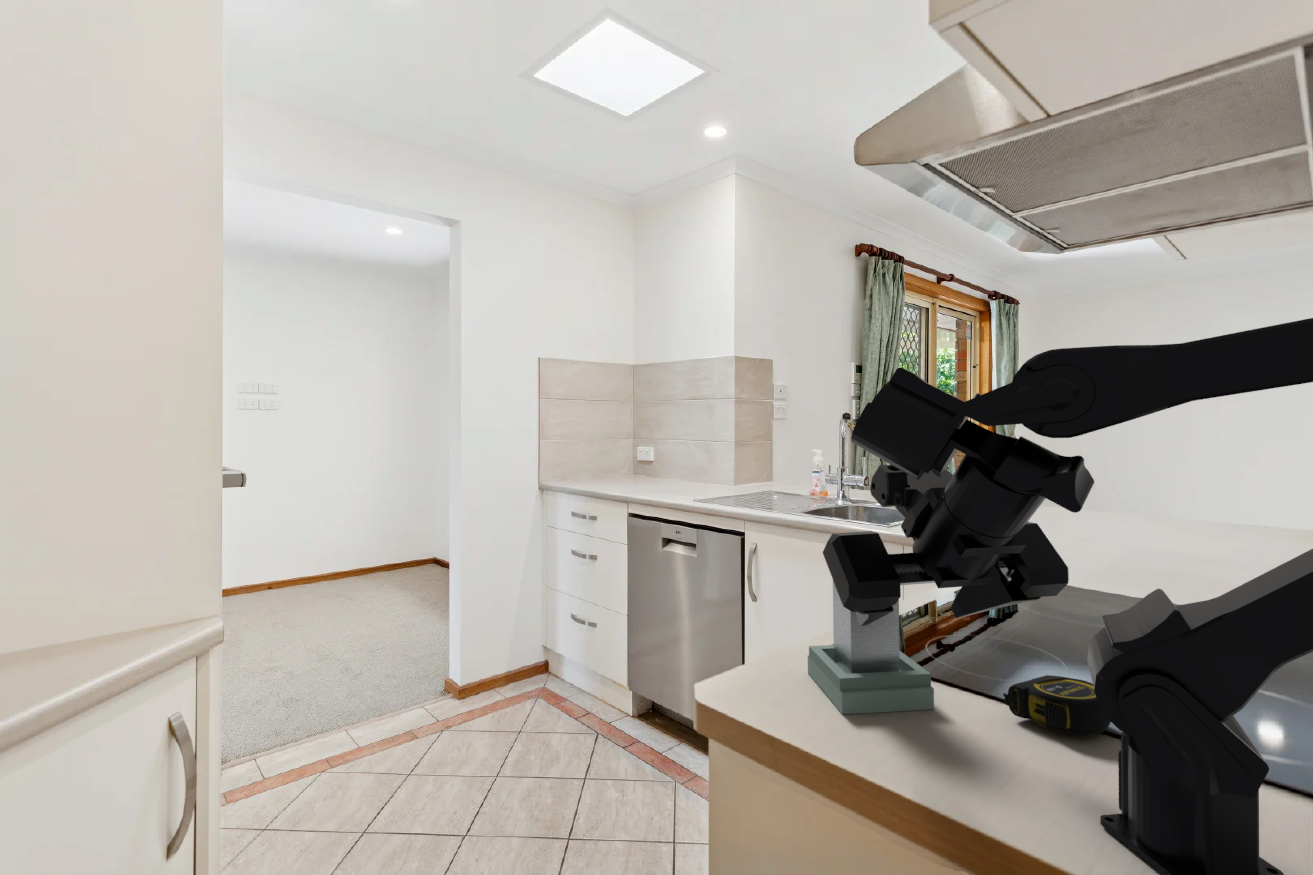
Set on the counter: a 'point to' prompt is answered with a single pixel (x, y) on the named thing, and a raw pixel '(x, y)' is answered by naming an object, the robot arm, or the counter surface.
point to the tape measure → (1058, 705)
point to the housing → (865, 640)
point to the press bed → (871, 685)
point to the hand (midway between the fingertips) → (908, 616)
